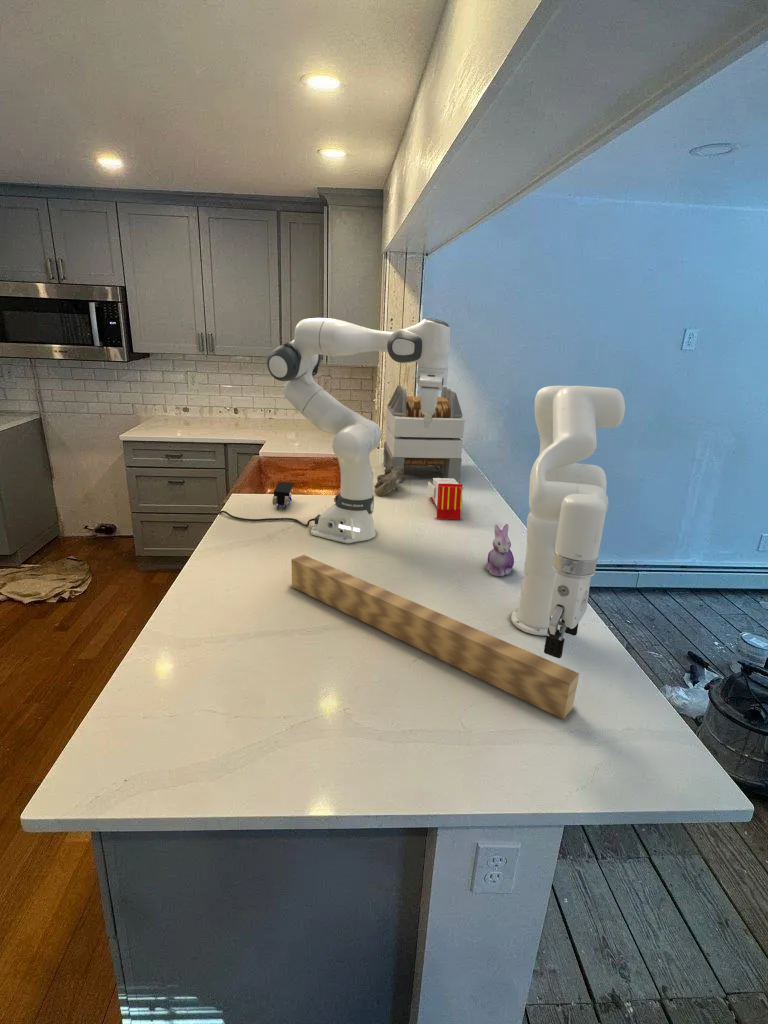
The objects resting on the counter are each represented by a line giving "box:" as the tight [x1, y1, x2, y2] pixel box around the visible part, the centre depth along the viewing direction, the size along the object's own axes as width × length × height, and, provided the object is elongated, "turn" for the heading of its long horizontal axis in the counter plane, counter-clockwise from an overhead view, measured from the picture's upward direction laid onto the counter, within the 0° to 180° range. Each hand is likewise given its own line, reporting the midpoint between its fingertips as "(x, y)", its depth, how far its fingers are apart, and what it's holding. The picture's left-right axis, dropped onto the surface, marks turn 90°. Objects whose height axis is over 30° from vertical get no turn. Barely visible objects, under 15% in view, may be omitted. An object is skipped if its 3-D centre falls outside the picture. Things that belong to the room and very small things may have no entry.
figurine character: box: [272, 481, 294, 510], centre depth 222 cm, size 7×8×15 cm
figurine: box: [486, 523, 515, 577], centre depth 172 cm, size 9×10×15 cm
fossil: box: [374, 466, 405, 497], centre depth 246 cm, size 22×10×15 cm
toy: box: [427, 477, 464, 520], centre depth 227 cm, size 12×13×30 cm
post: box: [291, 554, 580, 720], centre depth 136 cm, size 80×5×8 cm, turn 50°
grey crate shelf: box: [383, 384, 465, 484], centre depth 268 cm, size 34×33×41 cm
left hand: (427, 424), depth 170 cm, fingers open, 8 cm apart
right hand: (560, 643), depth 108 cm, fingers open, 9 cm apart
